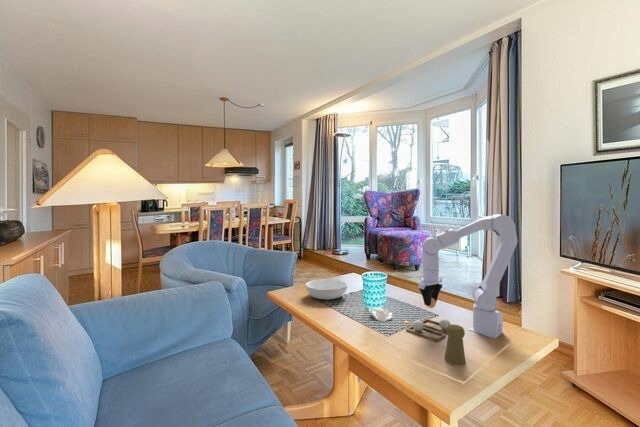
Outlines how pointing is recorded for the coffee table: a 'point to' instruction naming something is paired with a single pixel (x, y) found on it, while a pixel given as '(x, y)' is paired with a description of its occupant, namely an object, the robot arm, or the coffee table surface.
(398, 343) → the coffee table surface
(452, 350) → the olive knobbed tapered post
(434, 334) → the trough
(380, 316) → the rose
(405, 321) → the card
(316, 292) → the serving bowl
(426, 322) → the trough
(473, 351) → the coffee table surface
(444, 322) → the grey ball
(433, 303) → the ball terracotta
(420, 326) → the grey ball
